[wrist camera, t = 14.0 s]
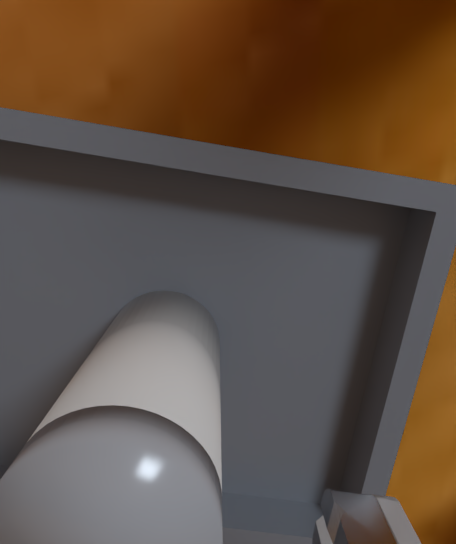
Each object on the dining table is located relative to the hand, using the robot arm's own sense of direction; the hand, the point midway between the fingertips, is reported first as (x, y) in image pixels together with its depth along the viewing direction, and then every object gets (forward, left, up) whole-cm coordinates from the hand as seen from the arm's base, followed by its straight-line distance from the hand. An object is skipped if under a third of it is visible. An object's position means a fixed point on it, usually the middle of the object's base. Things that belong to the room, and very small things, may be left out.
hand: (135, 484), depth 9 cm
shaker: (0, 0, -9) cm, 9 cm away
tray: (+1, 0, -10) cm, 10 cm away
